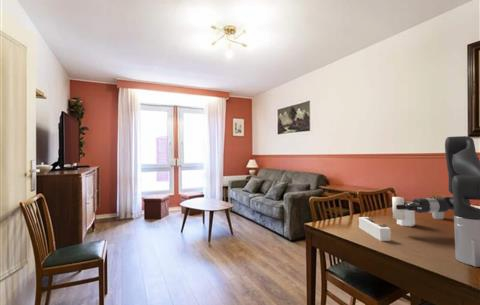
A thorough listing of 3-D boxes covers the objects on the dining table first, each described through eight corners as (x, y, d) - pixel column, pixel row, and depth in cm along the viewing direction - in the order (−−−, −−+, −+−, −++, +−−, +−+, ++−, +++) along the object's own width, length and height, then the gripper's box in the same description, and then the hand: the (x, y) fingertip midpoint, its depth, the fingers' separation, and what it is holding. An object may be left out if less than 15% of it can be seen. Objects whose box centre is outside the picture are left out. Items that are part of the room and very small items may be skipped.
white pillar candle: (407, 219, 125) (406, 198, 125) (396, 219, 125) (396, 198, 125) (400, 217, 130) (399, 196, 131) (390, 217, 130) (389, 196, 131)
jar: (410, 227, 138) (409, 206, 138) (394, 224, 145) (393, 204, 145) (416, 224, 143) (416, 204, 143) (401, 221, 150) (400, 202, 150)
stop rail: (390, 240, 118) (390, 228, 118) (380, 240, 118) (380, 228, 118) (367, 227, 140) (367, 216, 140) (358, 227, 140) (358, 217, 140)
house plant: (450, 216, 159) (449, 191, 159) (458, 221, 146) (457, 194, 146) (423, 214, 165) (422, 190, 165) (429, 219, 152) (428, 193, 152)
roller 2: (385, 229, 138) (387, 227, 136) (372, 229, 138) (374, 227, 136) (383, 225, 140) (385, 222, 138) (371, 225, 140) (372, 223, 138)
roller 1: (370, 216, 153) (370, 219, 154) (359, 216, 153) (359, 219, 154) (372, 219, 151) (372, 222, 152) (361, 219, 151) (360, 222, 152)
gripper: (415, 196, 135) (384, 196, 135) (436, 200, 121) (401, 201, 121) (416, 209, 135) (385, 210, 135) (436, 215, 120) (402, 216, 121)
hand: (393, 206), depth 128 cm, fingers closed on white pillar candle, 5 cm apart
